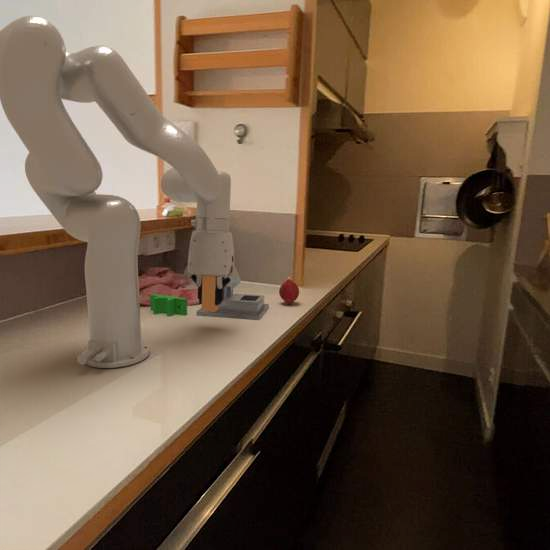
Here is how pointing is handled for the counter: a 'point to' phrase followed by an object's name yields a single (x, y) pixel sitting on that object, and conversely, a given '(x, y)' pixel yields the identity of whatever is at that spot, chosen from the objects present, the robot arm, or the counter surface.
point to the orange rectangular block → (209, 293)
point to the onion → (289, 291)
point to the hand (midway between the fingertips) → (210, 302)
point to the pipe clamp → (168, 305)
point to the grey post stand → (238, 304)
